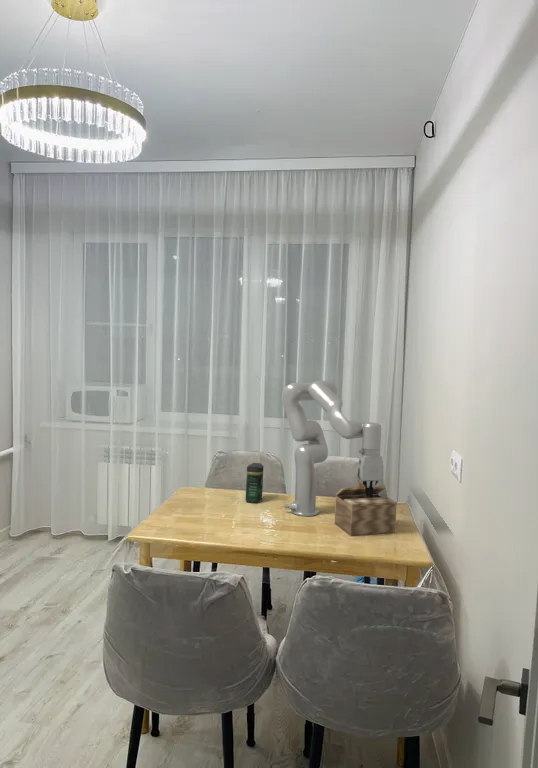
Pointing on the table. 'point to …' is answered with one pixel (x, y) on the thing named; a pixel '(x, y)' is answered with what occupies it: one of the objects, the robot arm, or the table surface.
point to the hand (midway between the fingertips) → (368, 496)
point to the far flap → (358, 490)
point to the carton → (365, 514)
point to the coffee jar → (254, 482)
